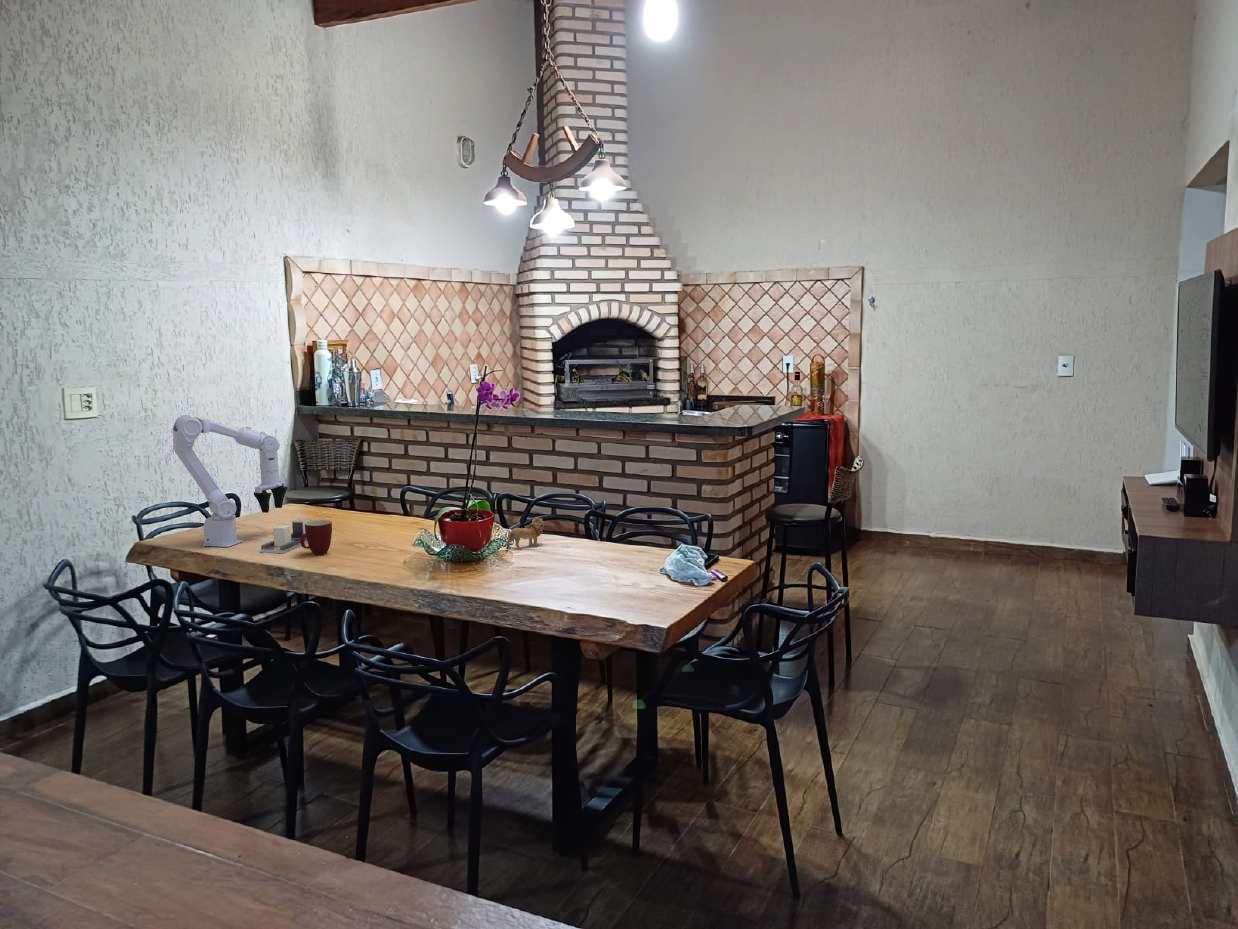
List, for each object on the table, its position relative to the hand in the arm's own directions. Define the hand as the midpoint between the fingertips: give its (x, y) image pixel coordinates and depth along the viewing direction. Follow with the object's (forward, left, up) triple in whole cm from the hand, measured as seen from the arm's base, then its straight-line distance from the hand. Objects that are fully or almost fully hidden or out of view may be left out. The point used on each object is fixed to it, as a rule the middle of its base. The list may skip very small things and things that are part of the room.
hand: (272, 510), depth 298 cm
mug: (+27, -18, -10) cm, 34 cm away
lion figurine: (+88, +5, -10) cm, 89 cm away
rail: (+12, -10, -9) cm, 18 cm away
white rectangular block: (+12, -13, -8) cm, 19 cm away
